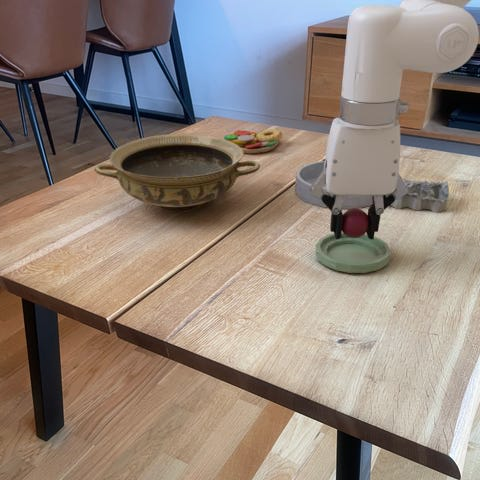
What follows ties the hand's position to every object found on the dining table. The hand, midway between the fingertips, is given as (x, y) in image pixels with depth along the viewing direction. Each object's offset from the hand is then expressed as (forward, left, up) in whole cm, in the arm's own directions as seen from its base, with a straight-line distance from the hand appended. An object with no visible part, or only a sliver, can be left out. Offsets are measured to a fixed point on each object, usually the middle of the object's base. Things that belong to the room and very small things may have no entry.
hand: (353, 234), depth 85 cm
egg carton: (-16, -22, -4) cm, 27 cm away
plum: (0, 0, +2) cm, 2 cm away
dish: (-2, -28, -4) cm, 28 cm away
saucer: (0, 0, -4) cm, 4 cm away
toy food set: (+15, -58, -4) cm, 60 cm away
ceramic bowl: (+29, -22, -4) cm, 37 cm away
